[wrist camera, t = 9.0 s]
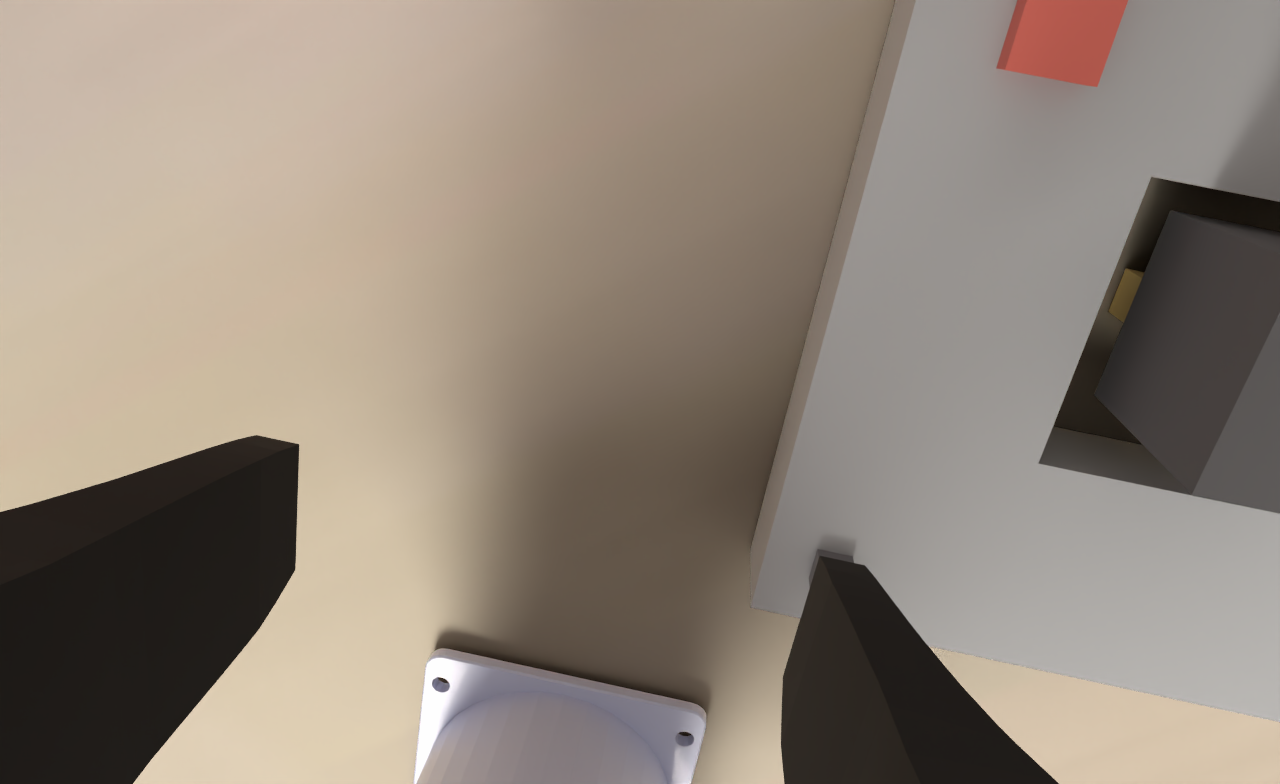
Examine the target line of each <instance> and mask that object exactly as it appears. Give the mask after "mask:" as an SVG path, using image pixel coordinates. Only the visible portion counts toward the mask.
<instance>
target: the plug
mask: <svg viewBox="0 0 1280 784" xmlns="http://www.w3.org/2000/svg"><path fill="white" fill-rule="evenodd" d="M1108 312H1109V313H1111V314H1112V315H1113V316H1115V317H1116V318H1117V319H1119V320H1120V321H1121V322H1123V326H1122V328H1121V331H1120V333H1119V336H1118V338H1117V340H1116V343H1115V345H1114V348H1113V350H1112V352H1111V355H1110V357H1109V360H1108V362H1107V365H1106V367H1105V369H1104V372H1103V374H1102V377H1101V379H1100V381H1099V384H1098V386H1097V389H1096V391H1095V394H1094V395H1095V396H1096V397H1097V398H1098V399H1099V400H1100V401H1101V402H1102V404H1103V405H1104V406H1105V407H1106V408H1107V409H1108V410H1109V411H1110V412H1111V413H1112V414H1113V415H1114V416H1115V417H1116V418H1117V419H1118V420H1119V421H1120V422H1121V423H1122V424H1123V425H1124V426H1125V427H1126V428H1127V429H1128V430H1129V431H1130V432H1131V433H1132V434H1133V435H1134V436H1135V437H1136V438H1137V439H1138V440H1139V441H1140V442H1141V443H1142V444H1143V445H1144V446H1145V447H1146V448H1147V449H1148V451H1149V452H1150V453H1151V454H1152V455H1153V456H1154V457H1155V458H1156V459H1157V460H1158V461H1159V462H1160V463H1161V464H1162V465H1163V466H1164V467H1165V468H1166V469H1167V470H1168V471H1169V472H1170V473H1171V474H1172V475H1173V476H1174V477H1175V478H1176V479H1177V480H1178V481H1179V482H1180V483H1181V484H1182V485H1183V486H1184V487H1185V488H1186V489H1187V490H1188V491H1189V492H1190V493H1191V494H1192V495H1196V496H1200V497H1205V498H1210V499H1214V500H1219V501H1224V502H1229V503H1233V504H1238V505H1243V506H1247V507H1252V508H1257V509H1262V510H1266V511H1271V512H1276V513H1280V232H1277V231H1272V230H1267V229H1262V228H1257V227H1252V226H1247V225H1242V224H1237V223H1232V222H1227V221H1222V220H1217V219H1212V218H1207V217H1202V216H1197V215H1192V214H1187V213H1182V212H1177V211H1172V210H1170V212H1169V214H1168V217H1167V219H1166V222H1165V224H1164V227H1163V229H1162V231H1161V234H1160V236H1159V239H1158V241H1157V244H1156V246H1155V248H1154V251H1153V253H1152V256H1151V258H1150V260H1149V263H1148V265H1147V268H1146V270H1145V272H1141V271H1136V270H1131V269H1125V271H1124V274H1123V276H1122V279H1121V281H1120V284H1119V286H1118V289H1117V291H1116V294H1115V296H1114V299H1113V301H1112V304H1111V306H1110V309H1109V311H1108Z"/></svg>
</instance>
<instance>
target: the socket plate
mask: <svg viewBox="0 0 1280 784" xmlns="http://www.w3.org/2000/svg"><path fill="white" fill-rule="evenodd" d="M1151 177H1155V178H1160V179H1165V180H1170V181H1175V182H1181V183H1186V184H1191V185H1196V186H1201V187H1206V188H1211V189H1216V190H1222V191H1227V192H1232V193H1237V194H1242V195H1247V196H1252V197H1258V198H1263V199H1268V200H1273V201H1278V202H1280V0H895V4H894V8H893V12H892V15H891V19H890V23H889V27H888V31H887V34H886V38H885V42H884V46H883V50H882V53H881V57H880V61H879V65H878V68H877V72H876V76H875V80H874V84H873V87H872V91H871V95H870V99H869V102H868V106H867V110H866V114H865V118H864V121H863V125H862V129H861V133H860V137H859V140H858V144H857V148H856V152H855V155H854V159H853V163H852V167H851V171H850V174H849V178H848V182H847V186H846V189H845V193H844V197H843V201H842V205H841V208H840V212H839V216H838V220H837V224H836V227H835V231H834V235H833V239H832V242H831V246H830V250H829V254H828V258H827V261H826V265H825V269H824V273H823V276H822V280H821V284H820V288H819V292H818V295H817V299H816V303H815V307H814V311H813V314H812V318H811V322H810V326H809V329H808V333H807V337H806V341H805V345H804V348H803V352H802V356H801V360H800V363H799V367H798V371H797V375H796V379H795V382H794V386H793V390H792V394H791V397H790V401H789V405H788V409H787V413H786V416H785V420H784V424H783V428H782V432H781V435H780V439H779V443H778V447H777V450H776V454H775V458H774V462H773V466H772V469H771V473H770V477H769V481H768V484H767V488H766V492H765V496H764V500H763V503H762V507H761V511H760V515H759V519H758V522H757V526H756V530H755V534H754V537H753V541H752V545H751V549H750V608H754V609H759V610H764V611H768V612H773V613H778V614H782V615H787V616H791V617H796V618H801V616H802V612H803V609H804V606H805V602H806V599H807V596H808V592H809V589H810V586H811V582H812V579H813V576H814V572H815V569H816V566H817V563H818V559H819V556H824V557H829V558H833V559H838V560H843V561H847V562H852V563H857V564H861V565H865V566H866V567H867V568H868V569H869V571H870V572H871V573H872V574H873V576H874V577H875V578H876V579H877V581H878V582H879V583H880V585H881V586H882V587H883V588H884V590H885V591H886V592H887V594H888V595H889V596H890V598H891V599H892V600H893V602H894V603H895V604H896V606H897V607H898V608H899V609H900V611H901V612H902V613H903V615H904V616H905V617H906V619H907V620H908V621H909V623H910V624H911V625H912V626H913V628H914V629H915V630H916V631H917V633H918V634H919V635H920V637H921V638H922V639H923V640H924V642H925V643H926V644H927V645H928V646H930V647H935V648H939V649H944V650H949V651H953V652H958V653H962V654H967V655H972V656H976V657H981V658H986V659H990V660H995V661H999V662H1004V663H1009V664H1013V665H1018V666H1023V667H1027V668H1032V669H1036V670H1041V671H1046V672H1050V673H1055V674H1060V675H1064V676H1069V677H1073V678H1078V679H1083V680H1087V681H1092V682H1097V683H1101V684H1106V685H1110V686H1115V687H1120V688H1124V689H1129V690H1134V691H1138V692H1143V693H1147V694H1152V695H1157V696H1161V697H1166V698H1171V699H1175V700H1180V701H1184V702H1189V703H1194V704H1198V705H1203V706H1207V707H1212V708H1217V709H1221V710H1226V711H1231V712H1235V713H1240V714H1244V715H1249V716H1254V717H1258V718H1263V719H1268V720H1272V721H1277V722H1280V513H1276V512H1271V511H1266V510H1262V509H1257V508H1252V507H1247V506H1243V505H1238V504H1233V503H1229V502H1224V501H1219V500H1214V499H1210V498H1205V497H1200V496H1196V495H1192V494H1191V493H1190V492H1189V491H1188V490H1187V489H1186V488H1185V487H1184V486H1183V485H1182V484H1181V483H1180V482H1179V481H1178V480H1177V479H1176V478H1175V477H1174V476H1173V475H1172V474H1171V473H1170V472H1169V471H1168V470H1167V469H1166V468H1165V467H1164V466H1163V465H1162V464H1161V463H1160V462H1159V461H1158V460H1157V459H1156V458H1155V457H1154V456H1153V455H1152V454H1151V453H1150V452H1149V451H1148V449H1147V448H1146V447H1145V446H1144V445H1141V444H1136V443H1131V442H1126V441H1121V440H1116V439H1112V438H1107V437H1102V436H1097V435H1092V434H1087V433H1082V432H1078V431H1073V430H1068V429H1063V428H1058V427H1053V425H1054V423H1055V420H1056V418H1057V415H1058V413H1059V410H1060V407H1061V405H1062V402H1063V400H1064V397H1065V395H1066V392H1067V390H1068V387H1069V385H1070V382H1071V380H1072V377H1073V374H1074V372H1075V369H1076V367H1077V364H1078V362H1079V359H1080V357H1081V354H1082V352H1083V349H1084V347H1085V344H1086V341H1087V339H1088V336H1089V334H1090V331H1091V329H1092V326H1093V324H1094V321H1095V319H1096V316H1097V314H1098V311H1099V309H1100V306H1101V303H1102V301H1103V298H1104V296H1105V293H1106V291H1107V288H1108V286H1109V283H1110V281H1111V278H1112V276H1113V273H1114V270H1115V268H1116V265H1117V263H1118V260H1119V258H1120V255H1121V253H1122V250H1123V248H1124V245H1125V243H1126V240H1127V237H1128V235H1129V232H1130V230H1131V227H1132V225H1133V222H1134V220H1135V217H1136V215H1137V212H1138V210H1139V207H1140V204H1141V202H1142V199H1143V197H1144V194H1145V192H1146V189H1147V187H1148V184H1149V182H1150V179H1151Z"/></svg>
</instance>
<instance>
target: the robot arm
mask: <svg viewBox="0 0 1280 784" xmlns="http://www.w3.org/2000/svg"><path fill="white" fill-rule="evenodd" d="M298 463H299V444H295V443H290V442H285V441H281V440H276V439H271V438H266V437H262V436H257V435H256V436H251V437H246V438H242V439H238V440H234V441H231V442H228V443H224V444H221V445H218V446H214V447H211V448H208V449H205V450H202V451H199V452H196V453H193V454H190V455H187V456H184V457H181V458H178V459H175V460H172V461H169V462H166V463H163V464H160V465H157V466H154V467H151V468H148V469H145V470H142V471H139V472H136V473H133V474H130V475H127V476H124V477H121V478H118V479H114V480H111V481H108V482H105V483H101V484H98V485H94V486H91V487H88V488H84V489H81V490H78V491H74V492H71V493H67V494H64V495H61V496H57V497H54V498H50V499H47V500H44V501H40V502H37V503H34V504H30V505H26V506H22V507H19V508H15V509H11V510H7V511H3V512H0V784H133V783H134V781H135V780H136V779H137V777H138V776H139V775H140V773H141V772H142V771H143V770H144V768H145V767H146V766H147V764H148V763H149V762H150V760H151V759H152V758H153V757H154V755H155V754H156V753H157V752H158V751H159V749H160V748H161V747H162V746H163V745H164V743H165V742H166V741H167V740H168V739H169V737H170V736H171V735H172V734H173V733H174V731H175V730H176V729H177V728H178V727H179V725H180V724H181V723H182V722H183V721H184V719H185V718H186V717H187V716H188V715H189V713H190V712H191V711H192V710H193V709H194V707H195V706H196V705H197V704H198V703H199V702H200V700H201V699H202V698H203V697H204V696H205V694H206V693H207V692H208V691H209V690H210V688H211V687H212V686H213V685H214V684H215V682H216V681H217V680H218V679H219V678H220V676H221V675H222V674H223V673H224V671H225V670H226V669H227V668H228V667H229V665H230V664H231V663H232V662H233V660H234V659H235V658H236V657H237V656H238V654H239V653H240V652H241V651H242V649H243V648H244V647H245V646H246V645H247V643H248V642H249V641H250V640H251V638H252V637H253V636H254V635H255V633H256V632H257V631H258V629H259V628H260V627H261V625H262V623H263V622H264V620H265V619H266V617H267V616H268V614H269V612H270V611H271V609H272V608H273V606H274V605H275V603H276V601H277V600H278V598H279V596H280V595H281V593H282V591H283V590H284V588H285V586H286V584H287V583H288V581H289V579H290V578H291V576H292V574H293V573H294V571H295V561H296V528H297V495H298ZM437 677H442V678H444V679H446V680H447V681H448V682H449V683H443V682H441V681H440V680H439V679H438V678H437ZM705 730H706V713H705V711H704V709H703V708H701V707H700V706H699V705H697V704H694V703H692V702H687V701H682V700H678V699H673V698H669V697H664V696H660V695H655V694H651V693H646V692H642V691H637V690H633V689H628V688H624V687H619V686H615V685H610V684H605V683H601V682H596V681H592V680H587V679H583V678H578V677H574V676H569V675H565V674H560V673H556V672H551V671H547V670H542V669H538V668H533V667H529V666H524V665H519V664H515V663H510V662H506V661H501V660H497V659H492V658H488V657H483V656H479V655H474V654H470V653H465V652H461V651H456V650H452V649H444V648H441V649H437V650H435V651H434V652H433V653H432V654H431V655H430V657H429V659H428V661H427V664H426V667H425V677H424V686H423V696H422V705H421V715H420V724H419V734H418V743H417V753H416V762H415V772H414V781H413V784H691V782H692V779H693V775H694V771H695V767H696V764H697V760H698V756H699V752H700V749H701V745H702V741H703V737H704V734H705ZM680 732H688V733H690V734H692V735H690V736H682V735H680V734H679V733H680ZM781 749H782V761H783V771H784V782H785V784H1059V783H1058V782H1056V781H1055V780H1054V779H1053V778H1052V777H1051V776H1050V775H1049V774H1048V773H1047V772H1046V771H1045V770H1044V769H1043V768H1041V767H1040V766H1039V765H1038V764H1037V763H1036V762H1035V761H1034V760H1033V759H1032V758H1031V757H1030V756H1029V755H1028V754H1027V753H1025V752H1024V751H1023V750H1022V749H1021V748H1020V747H1019V746H1018V745H1017V744H1016V743H1015V742H1014V741H1013V740H1012V739H1011V738H1010V737H1009V736H1008V735H1007V734H1006V733H1005V732H1004V731H1003V730H1002V729H1001V728H1000V727H999V726H998V725H997V724H996V723H995V722H994V721H993V720H992V719H991V718H990V717H989V715H988V714H987V713H986V712H985V711H984V710H983V709H982V708H981V707H980V706H979V705H978V703H977V702H976V701H975V700H974V699H973V698H972V697H971V696H970V695H969V694H968V693H967V691H966V690H965V689H964V688H963V687H962V686H961V685H960V684H959V682H958V681H957V680H956V679H955V678H954V677H953V675H952V674H951V673H950V672H949V671H948V670H947V668H946V667H945V666H944V665H943V664H942V662H941V661H940V660H939V659H938V658H937V656H936V655H935V654H934V653H933V652H932V650H931V649H930V648H929V647H928V645H927V644H926V643H925V642H924V640H923V639H922V638H921V637H920V635H919V634H918V633H917V631H916V630H915V629H914V628H913V626H912V625H911V624H910V623H909V621H908V620H907V619H906V617H905V616H904V615H903V613H902V612H901V611H900V609H899V608H898V607H897V606H896V604H895V603H894V602H893V600H892V599H891V598H890V596H889V595H888V594H887V592H886V591H885V590H884V588H883V587H882V586H881V585H880V583H879V582H878V581H877V579H876V578H875V577H874V576H873V574H872V573H871V572H870V571H869V569H868V568H867V567H866V566H865V565H861V564H857V563H852V562H847V561H843V560H838V559H833V558H829V557H824V556H819V559H818V563H817V566H816V569H815V572H814V576H813V579H812V582H811V586H810V589H809V592H808V596H807V599H806V602H805V606H804V609H803V612H802V616H801V619H800V622H799V626H798V629H797V632H796V635H795V639H794V642H793V645H792V649H791V652H790V655H789V659H788V662H787V665H786V669H785V672H784V675H783V693H782V723H781Z"/></svg>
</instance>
